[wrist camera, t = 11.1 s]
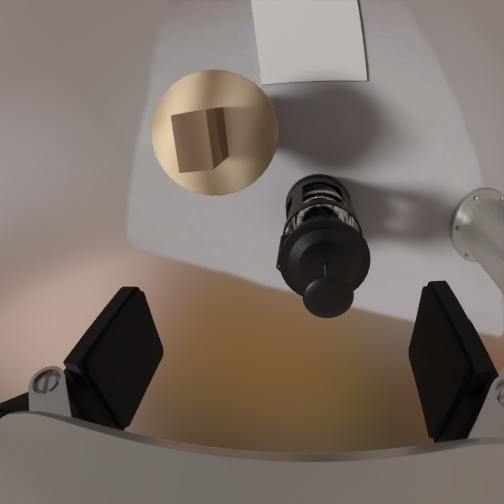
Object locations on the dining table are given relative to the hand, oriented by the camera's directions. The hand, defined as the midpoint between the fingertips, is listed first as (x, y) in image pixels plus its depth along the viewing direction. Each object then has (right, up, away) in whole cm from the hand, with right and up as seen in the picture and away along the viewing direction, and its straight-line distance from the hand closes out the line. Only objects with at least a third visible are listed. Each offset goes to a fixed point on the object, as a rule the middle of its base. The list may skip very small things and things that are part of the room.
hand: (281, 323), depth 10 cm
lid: (-5, +14, +21) cm, 26 cm away
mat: (+7, +31, +24) cm, 40 cm away
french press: (+8, +9, +36) cm, 38 cm away
